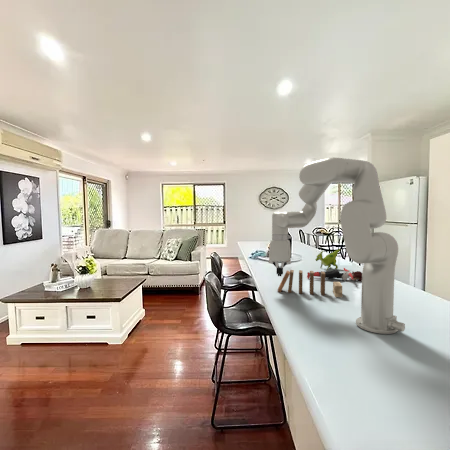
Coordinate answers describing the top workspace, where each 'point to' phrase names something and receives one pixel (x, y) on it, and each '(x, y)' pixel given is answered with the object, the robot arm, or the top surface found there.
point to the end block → (337, 289)
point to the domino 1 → (283, 281)
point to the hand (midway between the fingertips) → (279, 275)
